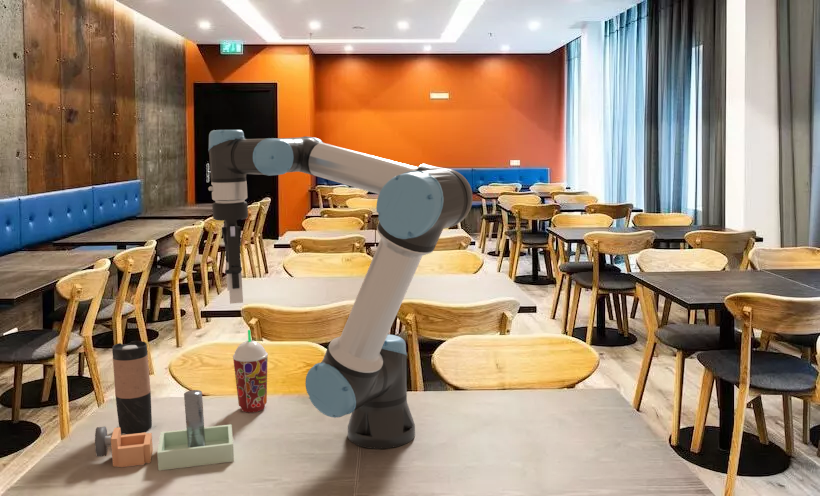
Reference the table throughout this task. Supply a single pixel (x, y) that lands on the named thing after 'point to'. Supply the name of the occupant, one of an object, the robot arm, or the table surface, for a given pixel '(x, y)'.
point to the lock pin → (194, 418)
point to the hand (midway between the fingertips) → (234, 296)
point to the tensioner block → (124, 447)
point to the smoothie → (251, 375)
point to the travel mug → (132, 387)
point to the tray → (195, 448)
